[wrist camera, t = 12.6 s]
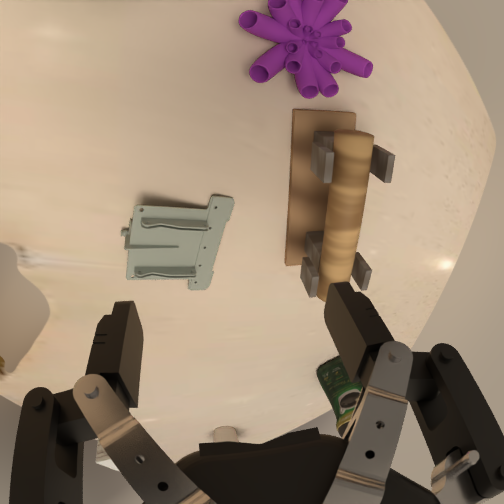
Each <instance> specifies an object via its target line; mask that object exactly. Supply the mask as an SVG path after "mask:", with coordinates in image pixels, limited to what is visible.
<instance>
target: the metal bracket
mask: <svg viewBox="0 0 504 504" xmlns="http://www.w3.org/2000/svg"><path fill="white" fill-rule="evenodd" d="M216 206H217V208H215V207H216ZM233 207H234V199H233V198H232V197H225V196H215V195H214V196H211V198H210V202H209V206H208V208H207V209H196V208H182V207H167V206H150V205H136V206H135V207H134V213H133V220H131V219H130V222H129V223H130V225H129V230H128V231H127V230H124V231H122V230H121V236H126V237H125V246H124V249H125V250H129V252H128V262H127V272H126V279H127V280H169V279H189V284H188V289H189V290H206V289H207V288H208V287H209V286H210V283H211V280H212V276H213V273H214V271H212V268H213V265H214V261H215V258H216V255H217V251H218V248H219V244H220V241H221V238H222V234H223V231H224V228H225V224H226V222H227V221H229V220H230V216H231V213H232V210H233ZM140 208H143V209H144V210H143V211H140ZM209 227H211V228H210V229H209ZM204 247H206V248H204ZM199 265H201V266H199ZM132 275H134V277H131V276H132ZM196 281H197V282H196ZM195 282H196V283H195Z"/></svg>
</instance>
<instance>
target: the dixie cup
mask: <svg viewBox="0 0 504 504" xmlns="http://www.w3.org/2000/svg"><path fill="white" fill-rule="evenodd" d="M224 441H232V442H239V441H238V437H237V434H236V431H235V428H233V427H228V426H225V427H219V428H216V429H215V430H214V442H224Z"/></svg>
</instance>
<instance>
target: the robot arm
mask: <svg viewBox="0 0 504 504" xmlns="http://www.w3.org/2000/svg"><path fill="white" fill-rule="evenodd" d="M324 319H325V323H326V325H327V328H328V330H329V332H330V334H331V337H332V339H333V341H334V343H335V346H336V348H337V350H338V352H339V355H340V357H341V359H342V362H343V364H344V366H345V369H346V371H347V373H348V375H349V378H350V380H351V382H352V383H355V382H359V381H361V382H362V385H363V387H362V389H361V392H360V395H359V398H358V400H357V403H356V406H355V409H354V411H353V414H352V416H351V419H350V421H349V424H348V426H347V428H346V430H345V432H344V435H343V437H342V438H339V437H336V436H331V435H326V434H319V431H318V428H317V427H316V428H312V429H306V430H301V431H296V432H291V433H287V434H285V435H283V436H280V437H278V438H275V439H273V440H271V441H268V442H265V443H263V444H251V443H241V442H232V441H224V442H213V443H199V451H196V452H193V453H191V454H189V455H187V456H185V457H183V458H182V459H180V460H179V461H178V462H176V463H174V462H173V461H172V460H171V459H170V458H169V457H168V456H167V455H166V453H165V452H164V451H163V450H162V449H161V448H160V447H159V446H158V444H157V443H156V442H155V441H154V440H153V439H152V438H151V436H150V435H149V434H148V433H147V432H146V430H145V429H144V428H143V427H142V426H141V424H140V423H139V422H138V421H137V420H136V419H135V418H134V417H133V416H132V415H131V414H130V412H129V408H138V395H139V382H140V370H141V360H142V350H143V329H142V325H141V322H140V319H139V316H138V313H137V309H136V306H135V303H134V301H119V302H115V304H114V307H113V311H112V315H104V316H103V318H102V319H101V320H100V322H99V323H98V324H97V328H96V332H95V336H94V340H93V344H92V348H91V352H90V356H89V360H88V365H87V369H86V374H85V376H83V377H81V378H80V379H79V380H78V381H77V382H76V383H75V385H74V388H73V389H70V390H67V391H64V392H60V393H56V394H52V393H51V391H50V390H48V389H47V388H44V387H37V388H34V389H32V390H31V391H29V392H28V393H27V395H26V396H25V398H24V401H23V405H22V410H21V415H20V420H19V425H18V431H17V436H16V442H15V449H14V456H13V464H12V473H11V483H10V497H9V504H83V499H82V498H83V495H82V494H83V491H82V490H83V480H82V478H83V449H84V441H88V440H92V439H96V438H99V442H100V444H101V445H102V447H103V449H104V450H105V451H106V453H107V454H108V456H109V457H110V459H111V460H112V461H113V463H114V464H115V466H116V467H117V468H118V470H119V471H120V472H121V474H122V475H123V476H124V478H125V479H126V480H127V481H128V483H129V484H130V485H131V486H132V488H133V489H134V490H135V491H136V493H137V494H138V495H139V496H140V497H141V499H142V500H143V501H144V502H143V503H142V504H481V503H483V502H485V501H487V500H489V499H491V498H493V497H494V496H496V495H498V494H500V493H501V492H503V491H504V436H503V433H502V431H501V429H500V427H499V425H498V423H497V421H496V419H495V417H494V415H493V413H492V411H491V409H490V407H489V405H488V404H487V402H486V400H485V398H484V396H483V394H482V392H481V391H480V389H479V387H478V385H477V383H476V381H475V380H474V378H473V376H472V375H471V373H470V371H469V369H468V368H467V366H466V364H465V362H464V361H463V359H462V357H461V356H460V354H459V353H458V351H457V350H456V349H455V348H454V347H452V346H451V345H449V344H444V343H440V344H437V345H435V346H434V347H433V348H432V350H431V351H430V352H412V351H411V350H410V348H409V347H408V346H406V345H405V344H403V343H401V342H398V341H395V340H394V338H393V337H392V335H391V333H390V332H389V330H388V328H387V327H386V325H385V323H384V322H383V320H382V319H381V317H380V316H379V314H378V312H377V311H376V309H374V306H373V304H372V303H371V301H370V299H369V298H368V297H366V296H365V295H364V294H362V293H361V292H355V291H354V290H353V288H352V286H351V285H350V283H349V282H348V281H344V282H336V283H330V285H329V288H328V293H327V298H326V304H325V309H324ZM408 401H409V402H410V404H411V407H412V409H413V411H414V414H415V416H416V418H417V421H418V423H419V426H420V428H421V431H422V433H423V436H424V438H425V440H426V443H427V446H428V448H429V451H430V453H431V456H432V459H433V461H434V464H435V467H434V469H433V471H432V474H431V487H432V491H430V490H428V489H426V488H424V487H423V486H421V485H419V484H417V483H416V482H414V481H412V480H410V479H409V478H407V477H405V476H403V475H401V474H400V473H398V472H396V471H395V470H393V469H391V468H390V466H391V464H392V460H393V457H394V454H395V450H396V447H397V444H398V440H399V436H400V433H401V429H402V425H403V422H404V418H405V414H406V410H407V405H408Z"/></svg>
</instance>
